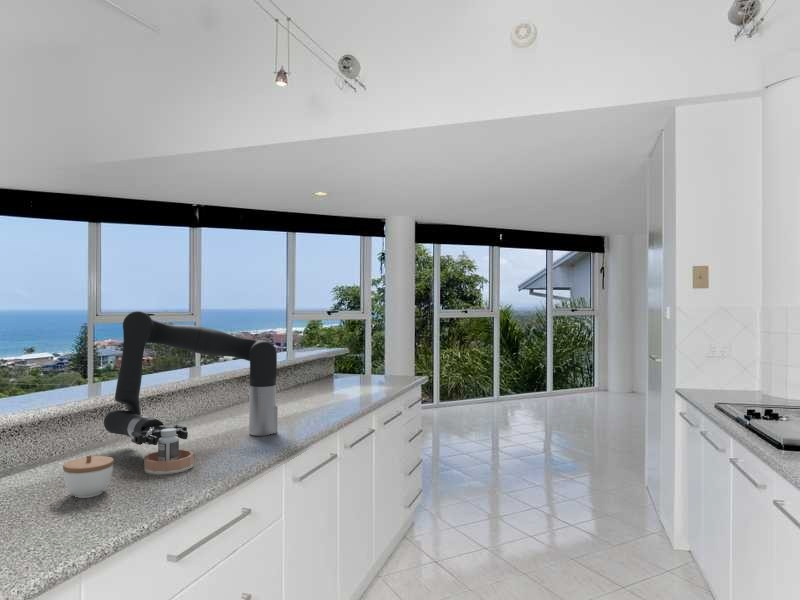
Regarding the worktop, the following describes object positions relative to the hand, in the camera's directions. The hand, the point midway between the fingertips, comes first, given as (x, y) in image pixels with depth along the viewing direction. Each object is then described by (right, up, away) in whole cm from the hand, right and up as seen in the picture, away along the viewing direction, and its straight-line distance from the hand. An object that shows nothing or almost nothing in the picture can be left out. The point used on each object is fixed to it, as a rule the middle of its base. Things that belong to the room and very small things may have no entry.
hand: (171, 438), depth 152 cm
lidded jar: (-12, -9, -20) cm, 25 cm away
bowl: (-1, -9, +1) cm, 9 cm away
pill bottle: (-1, -8, +1) cm, 8 cm away
